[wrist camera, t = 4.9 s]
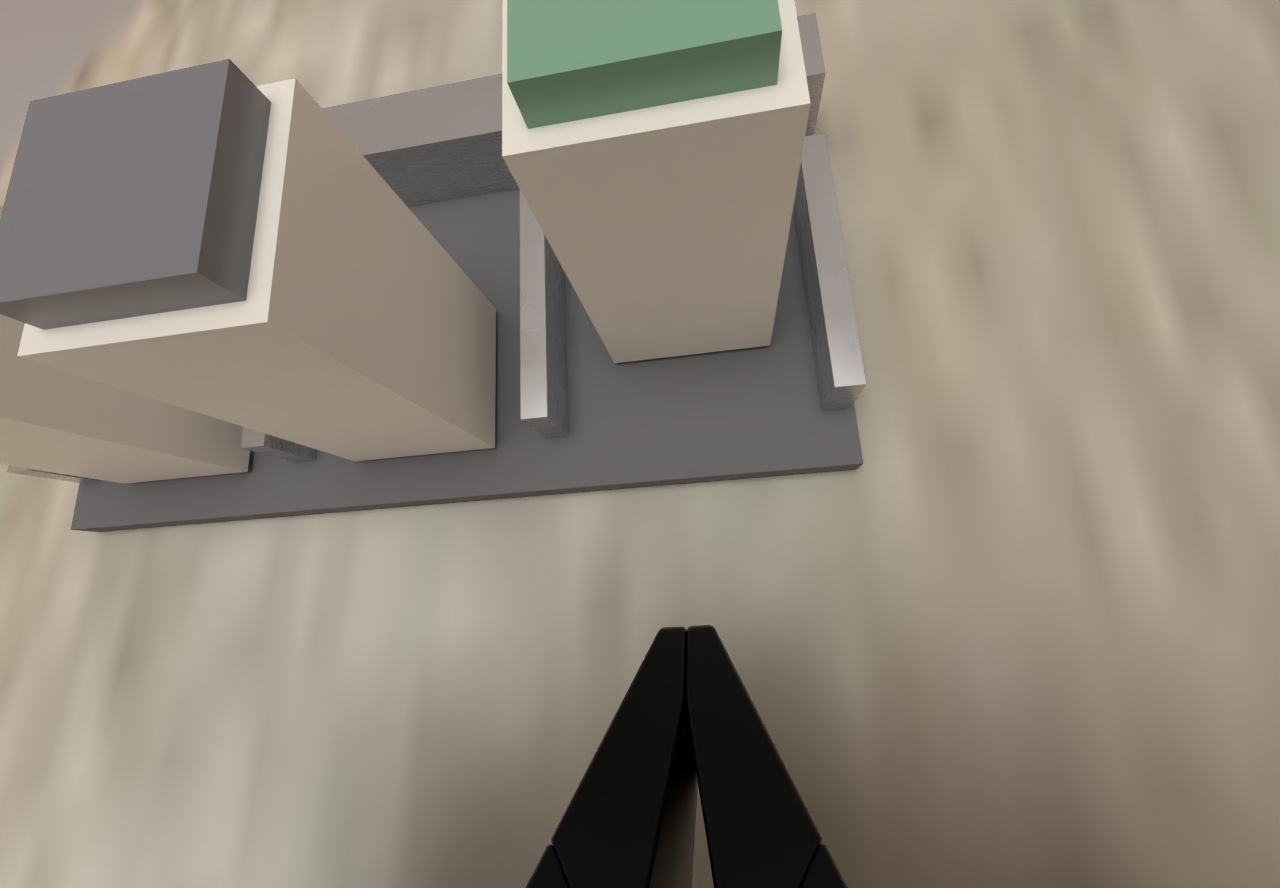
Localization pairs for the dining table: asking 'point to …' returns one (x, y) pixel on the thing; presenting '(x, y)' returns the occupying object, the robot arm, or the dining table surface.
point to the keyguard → (473, 166)
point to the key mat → (522, 458)
